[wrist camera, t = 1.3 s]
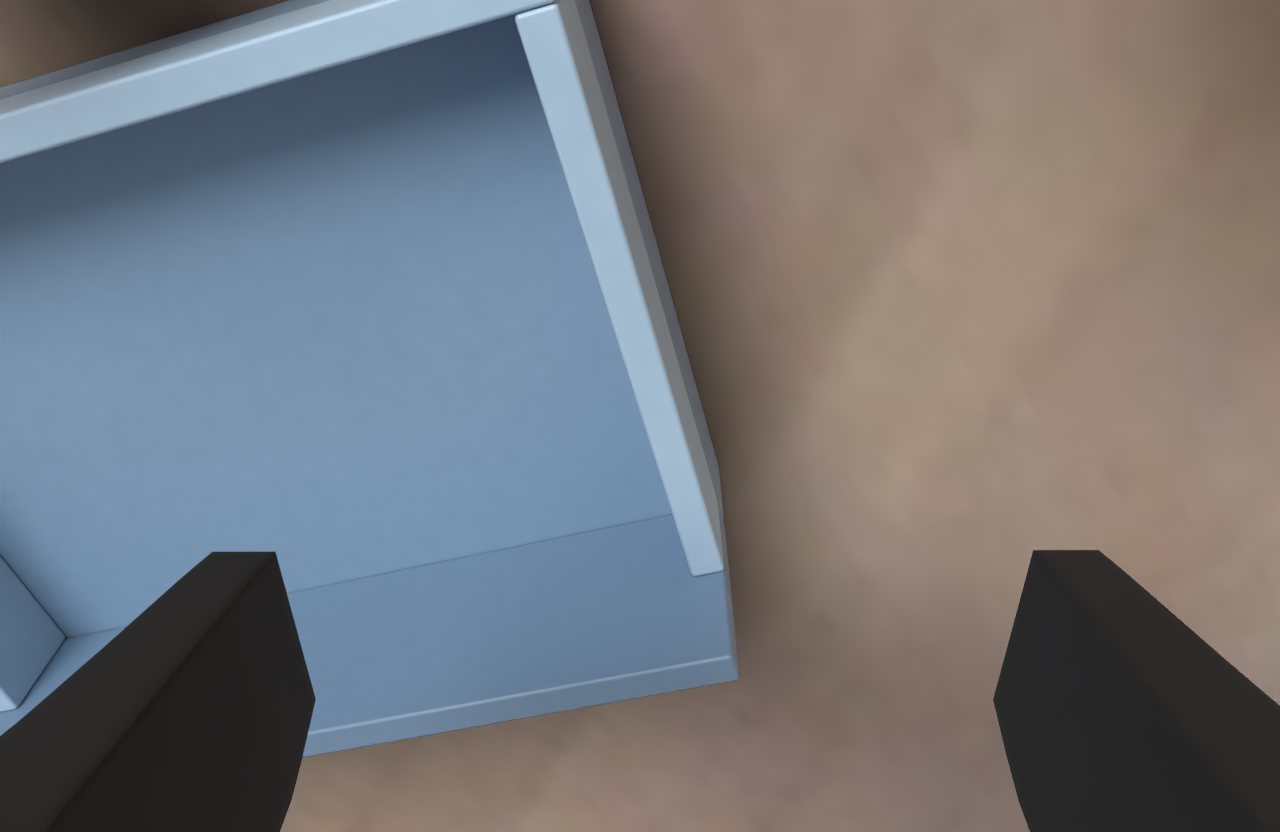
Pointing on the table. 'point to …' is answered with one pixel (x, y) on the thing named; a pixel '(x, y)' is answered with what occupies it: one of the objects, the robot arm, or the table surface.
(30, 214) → the light blue shelf
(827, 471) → the table surface
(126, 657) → the robot arm
